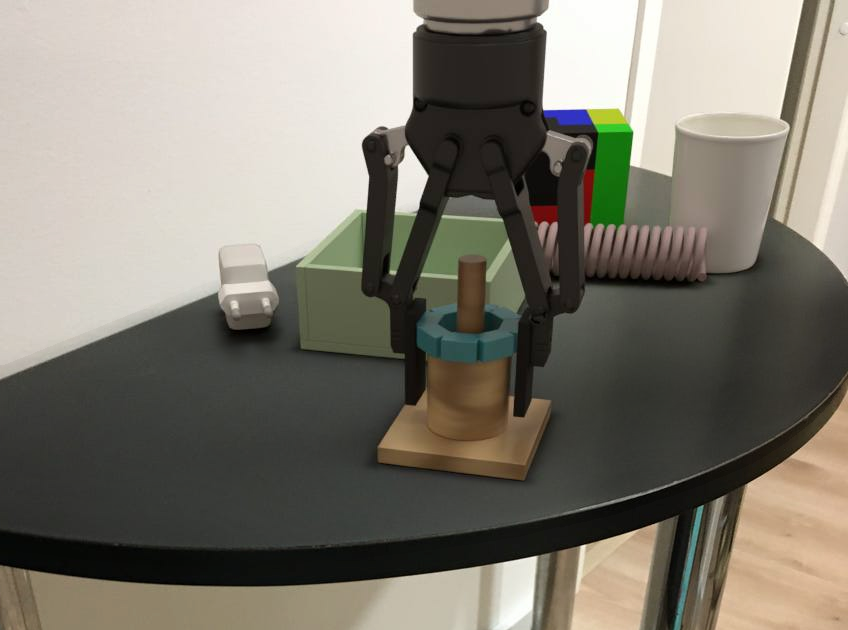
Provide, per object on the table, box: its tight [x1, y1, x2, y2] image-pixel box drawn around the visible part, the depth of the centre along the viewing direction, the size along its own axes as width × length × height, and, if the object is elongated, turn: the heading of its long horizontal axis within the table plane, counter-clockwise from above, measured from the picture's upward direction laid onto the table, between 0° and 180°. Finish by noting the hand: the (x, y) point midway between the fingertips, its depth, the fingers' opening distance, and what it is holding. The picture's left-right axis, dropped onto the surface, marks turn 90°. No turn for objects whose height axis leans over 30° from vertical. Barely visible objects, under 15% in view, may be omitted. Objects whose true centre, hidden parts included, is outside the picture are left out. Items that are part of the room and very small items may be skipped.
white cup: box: [667, 111, 791, 274], centre depth 102 cm, size 10×10×12 cm
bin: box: [295, 208, 526, 362], centre depth 93 cm, size 16×16×7 cm
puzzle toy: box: [524, 108, 635, 233], centre depth 112 cm, size 10×10×10 cm
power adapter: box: [217, 243, 280, 331], centre depth 92 cm, size 11×5×6 cm, turn 10°
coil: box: [535, 222, 708, 283], centre depth 101 cm, size 5×5×18 cm
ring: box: [416, 303, 522, 364], centre depth 73 cm, size 7×7×1 cm
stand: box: [377, 254, 552, 481], centre depth 73 cm, size 10×10×12 cm
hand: (468, 402), depth 76 cm, fingers closed on ring, 7 cm apart
